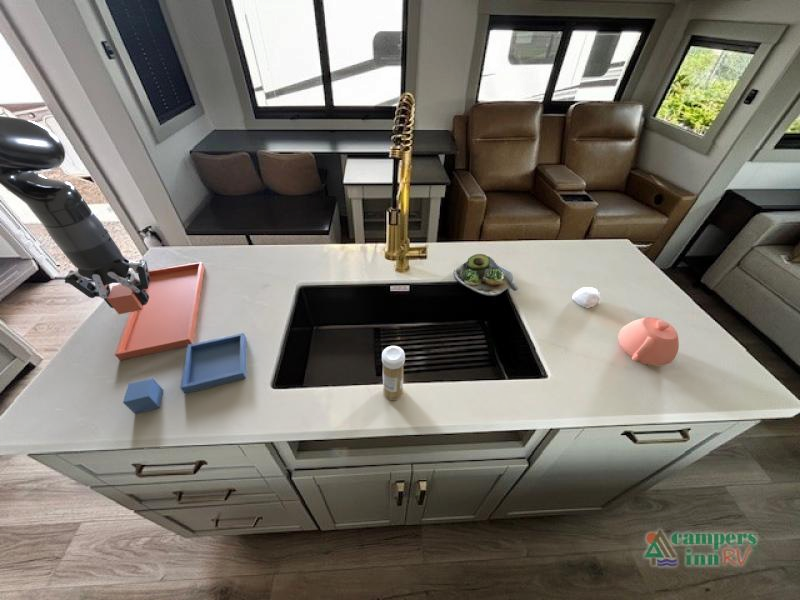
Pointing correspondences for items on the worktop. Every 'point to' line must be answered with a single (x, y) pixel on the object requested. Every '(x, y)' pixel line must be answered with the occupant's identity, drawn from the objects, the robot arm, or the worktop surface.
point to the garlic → (587, 297)
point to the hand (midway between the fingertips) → (132, 304)
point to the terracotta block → (124, 300)
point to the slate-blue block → (143, 395)
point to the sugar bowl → (649, 341)
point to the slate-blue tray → (214, 363)
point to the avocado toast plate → (484, 276)
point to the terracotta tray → (164, 312)
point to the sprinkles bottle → (393, 372)
